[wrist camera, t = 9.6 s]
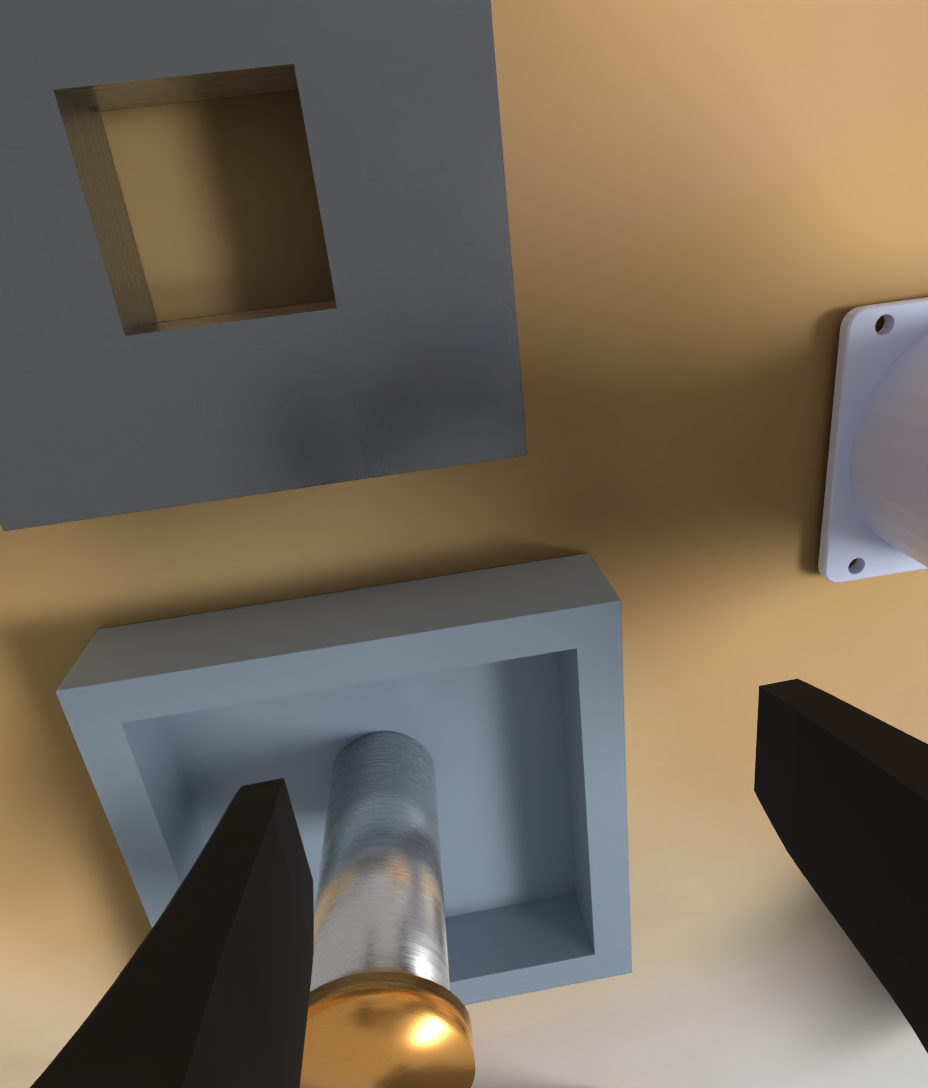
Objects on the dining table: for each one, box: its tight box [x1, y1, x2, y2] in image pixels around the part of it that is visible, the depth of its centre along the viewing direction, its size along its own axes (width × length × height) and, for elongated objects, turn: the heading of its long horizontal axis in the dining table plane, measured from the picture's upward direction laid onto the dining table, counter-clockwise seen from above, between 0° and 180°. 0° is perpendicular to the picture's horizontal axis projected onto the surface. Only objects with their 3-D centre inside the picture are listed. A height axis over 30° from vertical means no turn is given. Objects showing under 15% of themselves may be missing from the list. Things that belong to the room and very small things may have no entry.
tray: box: [55, 553, 632, 1005], centre depth 22 cm, size 14×14×3 cm
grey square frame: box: [0, 0, 527, 531], centre depth 15 cm, size 12×12×2 cm
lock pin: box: [300, 732, 475, 1088], centre depth 19 cm, size 4×4×9 cm
